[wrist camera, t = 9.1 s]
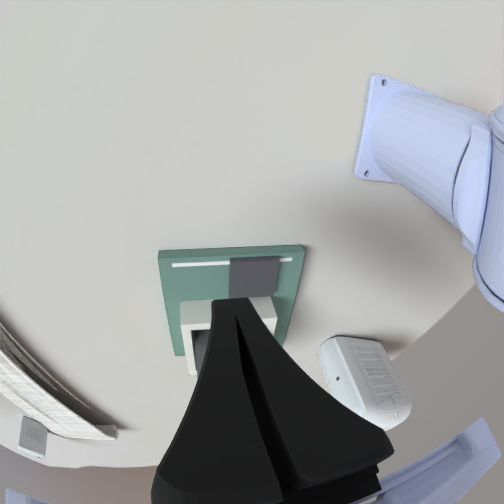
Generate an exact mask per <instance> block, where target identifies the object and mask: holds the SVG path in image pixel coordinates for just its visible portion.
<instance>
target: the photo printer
mask: <svg viewBox="0 0 504 504" xmlns="http://www.w3.org/2000/svg"><path fill="white" fill-rule="evenodd" d="M318 359H319V362H320V365H321V367H322V370H323V372H324V375H325V378H326V380H327V383H328V385H329V388H330V391H331V393H332V396H333V397H334V398H335V399H337V400H338V401H339V402H340V403H342V404H343V405H344V406H346V407H347V408H349V409H350V410H352V411H353V412H355V413H356V414H358V415H359V416H361V417H363V418H364V419H366V420H368V421H369V422H371V423H373V424H375V425H377V426H378V427H380V428H382V429H383V430H384V431H386V430H389V429H391V428H393V427H395V426H396V425H398V424H399V423H401V422H402V421H404V420H405V419H406V418H407V417H408V416H409V414H410V412H411V408H412V402H411V399H410V396H409V394H408V392H407V390H406V388H405V387H404V385H403V383H402V381H401V379H400V377H399V375H398V374H397V371H396V369H395V368H394V366H393V364H392V362H391V360H390V358H389V356H388V354H387V353H386V351H385V349H384V347H383V346H382V344H381V343H379V342H376V341H371V340H364V339H357V338H350V337H334V338H330V339H328V340H326V341H325V342H324V343H323V344H322V345H321V346H320V348H319V353H318Z"/></svg>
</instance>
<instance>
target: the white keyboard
mask: <svg viewBox="0 0 504 504" xmlns="http://www.w3.org/2000/svg"><path fill="white" fill-rule="evenodd" d="M0 327H1V328H2V329H3V330H4V332H5V333H6V334H7V335H8V336H9V337H10V338H11V339H12V340H13V341H14V342H15V344H16V345H17V346H18V347H19V348H20V349H21V350H22V351H23V352H24V353H25V354H26V355H27V356H28V357H29V358H30V359H31V360H32V361H33V362H34V363H35V364H36V365H37V366H38V367H39V368H40V369H41V370H42V371H43V372H45V373H46V374H47V375H48V376H49V377H50V378H51V379H52V380H53V381H54V382H56V383H57V384H58V385H59V386H60V387H61V388H63V389H64V390H65V391H66V392H68V393H69V394H70V395H71V396H73V397H74V398H75V399H76V400H78V401H79V402H80V403H82V404H83V405H84V406H86V407H87V408H89V407H88V406H87V405H85V404H84V403H83V402H82V401H80V400H79V399H78V398H76V397H75V396H74V395H73V394H72V393H70V392H69V391H68V390H67V389H66V388H65V387H63V386H62V385H61V384H60V383H59V382H58V381H57V380H56V379H55V378H53V377H52V376H51V375H50V374H49V373H48V372H47V371H46V370H45V369H44V368H43V367H42V366H41V365H40V364H39V363H38V362H37V361H36V360H35V359H34V358H33V357H32V356H31V355H30V354H29V353H28V352H27V351H26V350H25V349H24V348H23V347H22V346H21V345H20V344H19V343H18V342H17V341H16V340H15V339H14V337H13V336H12V335H11V334H10V333H9V332H8V331H7V330H6V328H5V327H4V326H3V325H2V324H1V323H0ZM1 328H0V348H1V349H2V350H3V351H4V352H5V353H6V354H7V355H8V356H9V357H10V358H11V359H12V360H13V361H14V362H15V363H16V364H17V365H19V366H20V367H21V368H22V369H23V370H25V369H24V368H23V367H22V366H21V365H20V364H19V362H18V361H17V360H16V359H15V357H14V356H13V355H12V354H11V352H12V353H13V354H15V355H16V356H17V357H18V358H19V359H20V360H21V361H22V362H23V363H24V364H25V365H26V366H27V367H28V368H29V369H31V370H32V371H33V372H34V373H35V374H36V375H37V376H38V377H39V378H41V379H42V380H43V381H44V382H45V383H47V384H48V385H49V386H51V387H52V388H53V389H55V390H56V391H58V390H57V389H56V388H55V387H54V386H53V385H52V384H51V383H50V382H49V381H48V380H47V379H46V378H45V377H44V376H43V375H42V374H41V373H40V372H39V371H38V370H37V369H36V368H35V367H34V366H33V365H32V364H31V363H30V362H29V361H28V360H27V359H26V358H25V357H24V356H23V355H22V354H21V353H20V352H19V350H18V349H17V348H16V347H15V346H14V345H13V343H12V342H11V341H10V340H9V339H8V337H7V336H6V335H5V334H4V332H3V331H2V330H1ZM1 349H0V392H1V393H2V394H3V395H4V396H6V397H7V398H8V399H9V400H11V401H12V402H13V403H15V404H16V405H17V406H19V407H20V408H21V409H23V410H24V411H26V412H27V413H28V414H30V415H31V416H32V417H34V418H35V419H37V420H38V421H39V422H41V423H42V424H43V425H45V426H46V427H47V428H48V429H49V430H51V431H52V432H54V433H56V434H59V435H61V436H64V437H71V438H84V439H102V440H117V438H118V435H119V433H118V431H117V428H116V426H115V425H92V424H90V423H89V422H87V421H86V420H84V419H83V418H82V417H80V416H79V415H77V414H76V413H74V412H73V411H72V410H70V409H69V408H68V407H66V406H65V405H64V404H62V403H61V402H60V401H58V400H57V399H56V398H54V397H53V396H52V395H51V394H49V393H48V392H47V391H46V390H44V389H43V388H42V387H41V386H40V385H38V384H37V383H36V382H35V381H34V380H33V379H31V378H30V377H29V376H28V375H27V374H26V373H25V372H24V371H23V370H22V369H20V368H19V367H18V366H17V365H16V364H15V363H14V362H13V361H12V360H11V359H10V358H9V357H8V356H7V355H6V354H5V353H4V352H3V351H2V350H1ZM8 349H9V350H10V351H11V352H10V351H9V350H8ZM25 371H26V370H25ZM89 409H91V408H89ZM91 410H92V409H91Z"/></svg>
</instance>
